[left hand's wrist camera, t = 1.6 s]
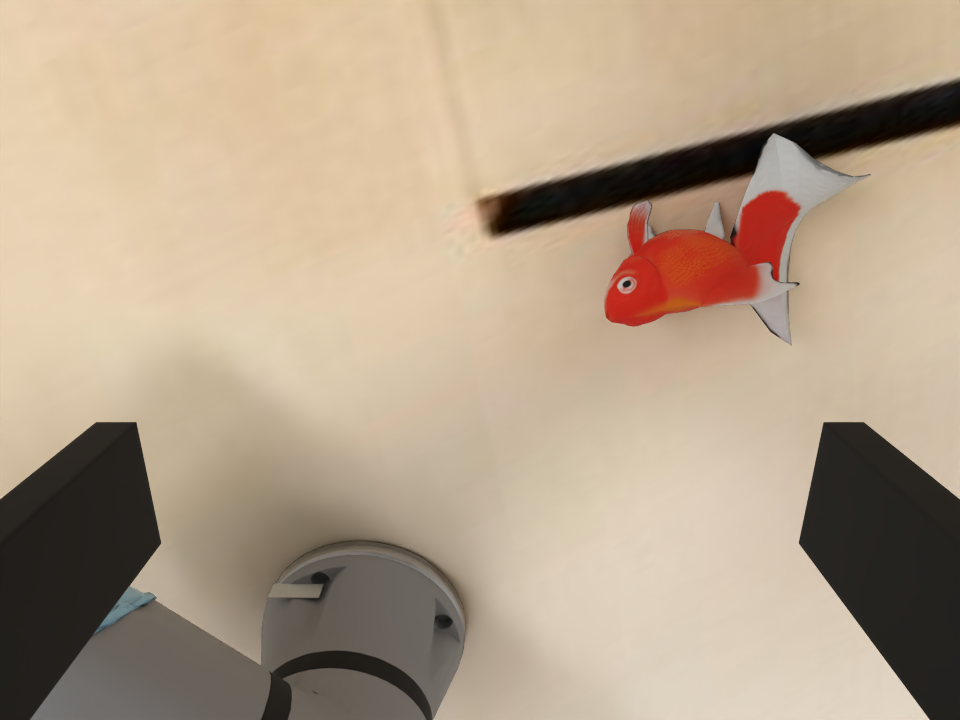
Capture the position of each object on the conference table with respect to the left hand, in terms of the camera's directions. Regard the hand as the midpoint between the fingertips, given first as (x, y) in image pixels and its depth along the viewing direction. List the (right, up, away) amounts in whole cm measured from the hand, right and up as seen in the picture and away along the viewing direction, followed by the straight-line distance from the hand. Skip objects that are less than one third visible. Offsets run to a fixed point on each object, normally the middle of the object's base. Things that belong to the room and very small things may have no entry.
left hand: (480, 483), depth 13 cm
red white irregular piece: (+14, +10, +27) cm, 32 cm away
